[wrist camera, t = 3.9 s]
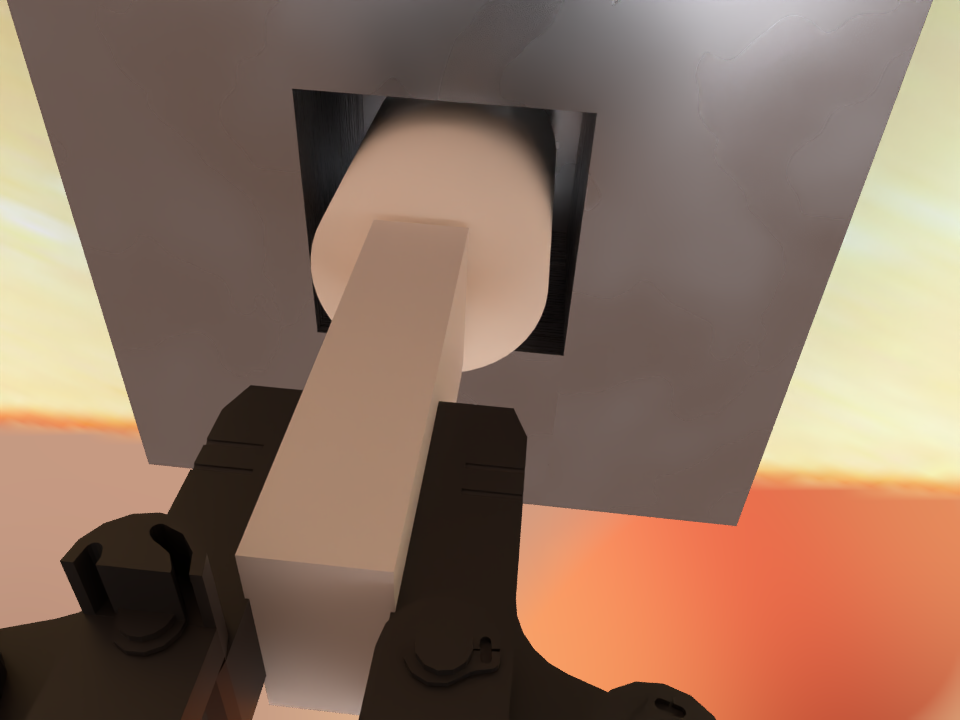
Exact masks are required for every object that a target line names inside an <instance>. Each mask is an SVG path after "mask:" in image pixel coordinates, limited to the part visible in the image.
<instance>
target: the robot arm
mask: <svg viewBox="0 0 960 720" xmlns="http://www.w3.org/2000/svg"><path fill="white" fill-rule="evenodd" d="M468 236H469V228H465V227H453V226H442V225H430V224H419V223H407V222H396V221H384V220H373V223H372V225H371V228H370V230H369V232H368V235H367V237H366V240H365V242H364V244H363V247H362V249H361V252H360V254H359V257H358V259H357V261H356V264H355V266H354V269H353V271H352V274H351V276H350V278H349V281H348V283H347V286H346V288H345V290H344V293H343V295H342V298H341V300H340V303H339V305H338V307H337V310H336V312H335V315H334V317H333V319H332V322H331V324H330V327H329V329H328V332H327V334H326V336H325V339H324V341H323V344H322V346H321V348H320V351H319V353H318V356H317V358H316V361H315V363H314V365H313V368H312V370H311V373H310V375H309V377H308V380H307V382H306V385H305V387H304V390H297V389H286V388H276V387H266V386H255V385H250V386H249V387H248V388H246V389H245V390H244V391H243V392H242V393H241V394H239V395H238V396H237V397H236V398H235V399H233V400H232V401H231V402H230V403H229V404H228V405H226V406H225V407H224V408H223V409H222V410H221V412H220V414H219V416H218V418H217V420H216V422H215V424H214V426H213V427H212V429H211V431H210V433H209V435H208V437H207V442H206V445H203V447H202V449H201V451H200V452H199V454H198V456H197V458H196V460H195V462H194V468H193V470H190V472H189V474H188V476H187V477H186V479H185V481H184V483H183V485H182V487H181V489H180V491H179V493H178V495H177V497H176V499H175V500H174V502H173V504H172V506H171V508H170V510H169V512H168V514H163V513H144V514H131V515H128V516H125V517H122V518H119V519H116V520H113V521H110V522H106V523H104V524H102V525H101V526H99V527H98V528H96V529H94V530H93V531H91V532H90V533H88V534H87V535H85V536H83V537H82V538H80V539H79V540H78V541H77V542H76V543H75V544H74V545H73V547H72V548H71V549H70V550H69V551H68V552H67V553H66V555H65V556H64V557H63V558H62V559H61V560H60V562H61V564H62V567H63V569H64V571H65V573H66V575H67V577H68V580H69V582H70V584H71V586H72V589H73V591H74V593H75V595H76V598H77V600H78V602H79V604H80V607H81V609H82V611H81V612H79V613H76V614H72V615H68V616H65V617H61V618H57V619H53V620H47V621H41V622H35V623H30V624H24V625H19V626H13V627H8V628H2V629H0V720H252V718H253V715H254V712H255V708H256V705H257V702H258V699H259V696H260V693H261V690H262V687H263V684H265V688H266V692H267V697H268V701H269V705H275V706H285V707H292V708H301V709H310V710H318V711H327V712H335V713H344V714H352V715H359V720H716V719H715V717H714V716H713V715H712V714H711V713H709V712H708V711H707V710H706V709H705V708H704V707H703V706H701V704H700V703H698V702H697V701H696V700H695V699H694V698H693V697H692V696H690V695H688V694H686V693H683V692H681V691H679V690H677V689H674V688H672V687H670V686H668V685H665V684H660V683H646V682H633V683H630V684H627V685H625V686H621V687H618V688H615V689H612V690H610V691H609V692H606V691H604V690H602V689H599V688H597V687H595V686H593V685H591V684H588V683H586V682H584V681H582V680H580V679H577V678H575V677H573V676H571V675H568V674H567V673H565V672H563V671H561V670H560V669H558V668H556V667H555V666H553V665H551V664H550V663H548V662H547V661H546V660H545V659H544V658H543V657H542V656H541V655H540V654H539V653H538V652H537V651H535V650H534V648H533V647H532V646H531V644H530V643H529V641H528V639H527V638H526V636H525V635H524V633H523V631H522V629H521V626H520V623H519V620H518V617H517V609H516V589H517V574H518V561H519V547H520V532H521V519H522V505H523V492H524V478H525V464H526V450H527V435H526V433H525V431H524V429H523V427H522V425H521V423H520V420H519V418H518V416H517V414H516V412H515V410H514V408H506V407H495V406H485V405H475V404H464V403H456V402H457V396H458V390H459V385H460V379H461V374H462V368H463V361H464V336H465V311H466V286H467V261H468Z"/></svg>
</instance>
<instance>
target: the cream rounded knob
mask: <svg viewBox="0 0 960 720" xmlns="http://www.w3.org/2000/svg"><path fill="white" fill-rule="evenodd" d="M555 169H556V142H555V136H554V132H553V128H552V125H551V123H550V120H549V118H548V116H547V114H546V112H545V110H544V109H539V108H527V107H514V106H502V105H489V104H477V103H465V102H452V101H440V100H427V99H415V98H403V97H390V96H387V97H386V98H385V100H384V101H383V103H382V104H381V106H380V108H379V110H378V112H377V114H376V116H375V118H374V120H373V122H372V124H371V126H370V127H369V129H368V131H367V133H366V135H365V137H364V139H363V141H362V143H361V145H360V147H359V149H358V151H357V152H356V154H355V156H354V158H353V160H352V162H351V164H350V166H349V168H348V170H347V172H346V174H345V176H344V177H343V179H342V181H341V183H340V185H339V187H338V189H337V191H336V193H335V195H334V197H333V199H332V201H331V202H330V204H329V206H328V208H327V210H326V212H325V214H324V216H323V218H322V220H321V222H320V224H319V226H318V228H317V230H316V233H315V236H314V240H313V243H312V250H311V273H312V279H313V284H314V287H315V290H316V293H317V296H318V298H319V300H320V302H321V304H322V306H323V308H324V310H325V311H326V313H327V314H328V316H329V318H330V319H331V320H332V319H333V317H334V315H335V312H336V310H337V307H338V305H339V303H340V300H341V298H342V295H343V293H344V290H345V288H346V286H347V283H348V281H349V278H350V276H351V274H352V271H353V269H354V266H355V264H356V261H357V259H358V257H359V254H360V252H361V249H362V247H363V244H364V242H365V240H366V237H367V235H368V232H369V230H370V228H371V225H372V223H373V220H384V221H396V222H407V223H419V224H430V225H442V226H453V227H465V228H469V236H468V261H467V286H466V311H465V336H464V361H463V368H462V372H464V371H470V370H474V369H477V368H481V367H484V366H487V365H489V364H491V363H494V362H496V361H498V360H500V359H502V358H503V357H505V356H507V355H508V354H510V353H511V352H512V351H514V350H515V349H516V348H518V347H519V346H520V345H521V344H522V343H523V342H524V341H525V340H526V339H527V338H528V336H529V335H530V334H531V333H532V331H533V330H534V329H535V327H536V325H537V323H538V322H539V320H540V318H541V316H542V313H543V310H544V307H545V305H546V299H547V294H548V283H549V267H550V250H551V234H552V218H553V202H554V185H555Z"/></svg>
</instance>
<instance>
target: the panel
mask: <svg viewBox="0 0 960 720" xmlns="http://www.w3.org/2000/svg"><path fill="white" fill-rule="evenodd" d="M932 1H933V0H7V2H8V6H9V9H10V12H11V15H12V19H13V22H14V25H15V29H16V32H17V35H18V38H19V42H20V45H21V48H22V51H23V55H24V58H25V61H26V64H27V68H28V71H29V74H30V77H31V81H32V84H33V87H34V91H35V94H36V97H37V100H38V104H39V107H40V110H41V113H42V117H43V120H44V123H45V126H46V130H47V133H48V136H49V139H50V143H51V146H52V149H53V152H54V156H55V159H56V162H57V166H58V169H59V172H60V175H61V179H62V182H63V185H64V188H65V192H66V195H67V198H68V201H69V205H70V208H71V211H72V214H73V218H74V221H75V224H76V228H77V231H78V234H79V237H80V241H81V244H82V247H83V250H84V254H85V257H86V260H87V263H88V267H89V270H90V273H91V276H92V280H93V283H94V286H95V290H96V293H97V296H98V299H99V303H100V306H101V309H102V312H103V316H104V319H105V322H106V325H107V329H108V332H109V335H110V338H111V342H112V345H113V348H114V351H115V355H116V358H117V361H118V365H119V368H120V371H121V374H122V378H123V381H124V384H125V387H126V391H127V394H128V397H129V400H130V404H131V407H132V410H133V413H134V417H135V420H136V423H137V427H138V430H139V433H140V436H141V440H142V443H143V446H144V449H145V452H146V456H147V459H148V462H149V464H154V465H164V466H173V467H183V468H192V469H193V468H194V462H195V460H196V458H197V456H198V454H199V452H200V451H201V449H202V447H203V445H206V442H207V437H208V435H209V433H210V431H211V429H212V427H213V426H214V424H215V422H216V420H217V418H218V416H219V414H220V412H221V410H222V409H223V408H224V407H225V406H226V405H228V404H229V403H230V402H231V401H232V400H233V399H235V398H236V397H237V396H238V395H239V394H241V393H242V392H243V391H244V390H245V389H246V388H248V387H249V386H250V385H255V386H266V387H276V388H286V389H297V390H304V387H305V385H306V382H307V380H308V377H309V375H310V373H311V370H312V368H313V365H314V363H315V361H316V358H317V356H318V353H319V351H320V348H321V346H322V344H323V341H324V339H325V336H326V334H327V332H328V329H329V327H330V324H331V322H332V320H331V319H330V318H329V316H328V314H327V313H326V311H325V310H324V308H323V306H322V304H321V302H320V300H319V298H318V296H317V293H316V290H315V287H314V284H313V279H312V273H311V250H312V243H313V240H314V236H315V233H316V230H317V228H318V226H319V224H320V222H321V220H322V218H323V216H324V214H325V212H326V210H327V208H328V206H329V204H330V202H331V201H332V199H333V197H334V195H335V193H336V191H337V189H338V187H339V185H340V183H341V181H342V179H343V177H344V176H345V174H346V172H347V170H348V168H349V166H350V164H351V162H352V160H353V158H354V156H355V154H356V152H357V151H358V149H359V147H360V145H361V143H362V141H363V139H364V137H365V135H366V133H367V131H368V129H369V127H370V126H371V124H372V122H373V120H374V118H375V116H376V114H377V112H378V110H379V108H380V106H381V104H382V103H383V101H384V100H385V98H386V97H387V96H390V97H403V98H415V99H427V100H440V101H452V102H465V103H477V104H489V105H502V106H514V107H527V108H539V109H544V110H545V112H546V114H547V116H548V118H549V120H550V123H551V125H552V128H553V132H554V136H555V142H556V169H555V185H554V202H553V218H552V234H551V250H550V267H549V283H548V294H547V299H546V305H545V307H544V310H543V313H542V316H541V318H540V320H539V322H538V323H537V325H536V327H535V329H534V330H533V331H532V333H531V334H530V335H529V336H528V338H527V339H526V340H525V341H524V342H523V343H522V344H521V345H520V346H519V347H518V348H516V349H515V350H514V351H512V352H511V353H510V354H508V355H507V356H505V357H503V358H502V359H500V360H498V361H496V362H494V363H491V364H489V365H487V366H484V367H481V368H477V369H474V370H470V371H464V372H462V374H461V379H460V385H459V390H458V396H457V402H456V403H464V404H475V405H485V406H495V407H506V408H514V410H515V412H516V414H517V416H518V418H519V420H520V423H521V425H522V427H523V429H524V431H525V433H526V435H527V450H526V464H525V478H524V492H523V503H524V504H534V505H543V506H553V507H562V508H571V509H581V510H590V511H600V512H609V513H619V514H628V515H637V516H647V517H656V518H666V519H675V520H685V521H694V522H704V523H714V524H723V525H732V526H736V525H737V523H738V520H739V517H740V515H741V512H742V509H743V507H744V504H745V501H746V499H747V496H748V493H749V491H750V488H751V485H752V483H753V480H754V477H755V475H756V472H757V469H758V467H759V464H760V461H761V459H762V456H763V453H764V450H765V448H766V445H767V442H768V440H769V437H770V434H771V432H772V429H773V426H774V424H775V421H776V418H777V416H778V413H779V410H780V408H781V405H782V402H783V400H784V397H785V394H786V392H787V389H788V386H789V384H790V381H791V378H792V376H793V373H794V370H795V368H796V365H797V362H798V360H799V357H800V354H801V351H802V349H803V346H804V343H805V341H806V338H807V335H808V333H809V330H810V327H811V325H812V322H813V319H814V317H815V314H816V311H817V309H818V306H819V303H820V301H821V298H822V295H823V293H824V290H825V287H826V285H827V282H828V279H829V277H830V274H831V271H832V269H833V266H834V263H835V261H836V258H837V255H838V252H839V250H840V247H841V244H842V242H843V239H844V236H845V234H846V231H847V228H848V226H849V223H850V220H851V218H852V215H853V212H854V210H855V207H856V204H857V202H858V199H859V196H860V194H861V191H862V188H863V186H864V183H865V180H866V178H867V175H868V172H869V170H870V167H871V164H872V162H873V159H874V156H875V153H876V151H877V148H878V145H879V143H880V140H881V137H882V135H883V132H884V129H885V127H886V124H887V121H888V119H889V116H890V113H891V111H892V108H893V105H894V103H895V100H896V97H897V95H898V92H899V89H900V87H901V84H902V81H903V79H904V76H905V73H906V71H907V68H908V65H909V63H910V60H911V57H912V54H913V52H914V49H915V46H916V44H917V41H918V38H919V36H920V33H921V30H922V28H923V25H924V22H925V20H926V17H927V14H928V12H929V9H930V6H931V4H932Z"/></svg>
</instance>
